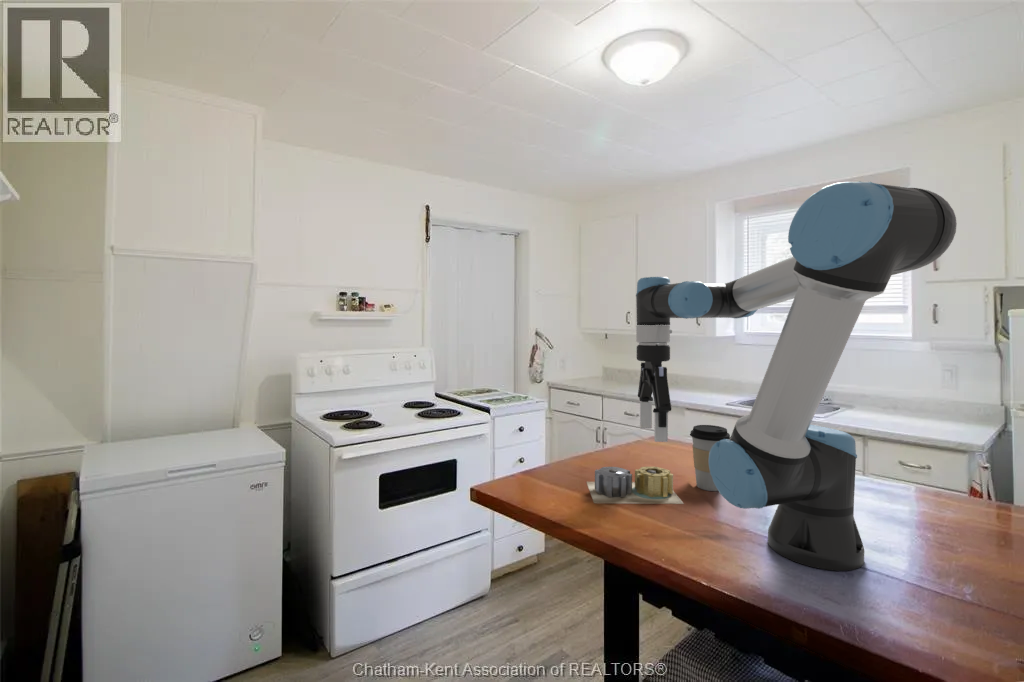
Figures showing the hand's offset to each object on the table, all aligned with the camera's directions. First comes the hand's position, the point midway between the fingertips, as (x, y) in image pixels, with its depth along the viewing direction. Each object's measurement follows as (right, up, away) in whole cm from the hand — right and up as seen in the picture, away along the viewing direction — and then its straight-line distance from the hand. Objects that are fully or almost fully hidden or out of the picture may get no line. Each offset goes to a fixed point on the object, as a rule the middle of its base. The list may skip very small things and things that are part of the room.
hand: (653, 434), depth 115 cm
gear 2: (0, -14, +1) cm, 14 cm away
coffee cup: (+17, -15, +9) cm, 24 cm away
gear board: (-5, -15, +1) cm, 16 cm away
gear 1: (-9, -14, +1) cm, 17 cm away
